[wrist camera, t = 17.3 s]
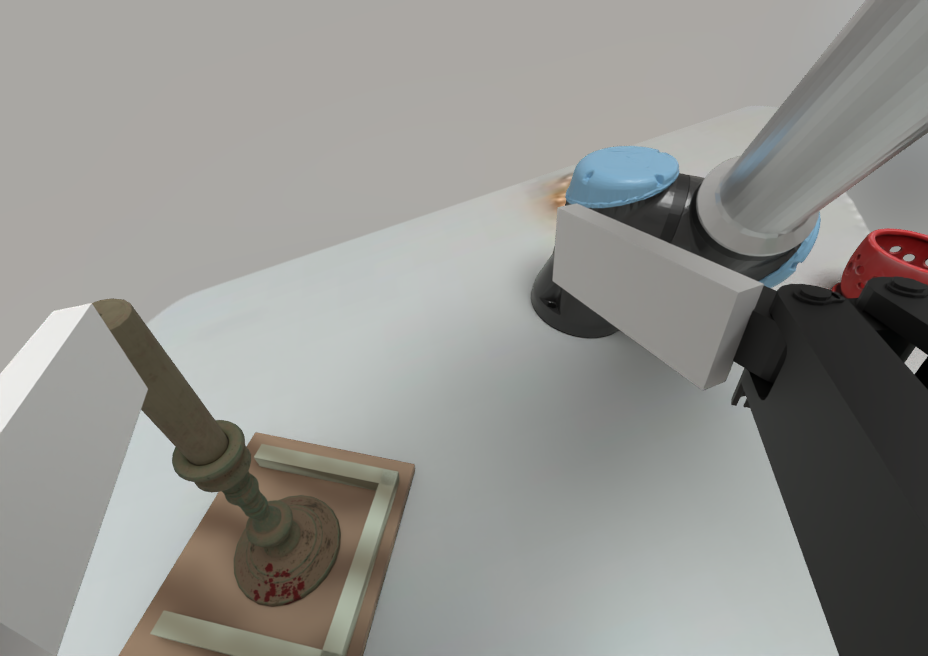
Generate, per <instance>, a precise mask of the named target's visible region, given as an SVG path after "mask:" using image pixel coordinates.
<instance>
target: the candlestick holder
mask: <svg viewBox="0 0 928 656" xmlns="http://www.w3.org/2000/svg"><path fill="white" fill-rule="evenodd" d="M92 304H93V306H94V307H95V309H96V310H97V312H98V313H99V315H100V316H101V318H102V319H103V321H104V323H105V324H106V326H107V327H108V329H109V330H110V332H111V333H112V335H113V336H114V338H115V339H116V341H117V342H118V344H119V345H120V347H121V348H122V350H123V351H124V353H125V354H126V356H127V358H128V359H129V361H130V362H131V364H132V365H133V367H134V368H135V370H136V371H137V373H138V374H139V376H140V377H141V379H142V380H143V382H144V383H145V385H146V386H147V388H148V390H147V393H146V396H145V399H144V402H143V405H142V408H141V410H142V411H143V412H144V413H145V414H146V415H147V416H148V417H149V418H150V419H151V420H152V422H153V423H154V424H155V425H156V426H157V427H158V428H159V429H160V430H161V431H162V432H163V433H164V434H165V436H166V437H167V438H168V439H169V440H170V441H171V442H172V443H173V444H174V445H175V446H176V447H175V450H174V452H173V458H172V463H173V467H174V470H175V472H176V473H177V474H178V475H179V476H180V477H181V478H183V479H185V480H188V481H192V482H195V484H196V485H197V486H198V488H199V489H201V490H203V491H207V492H220V491H222V492H223V493H224V495H225V498H226V500H227V501H228V502H229V503H231V504H233V505H237V506H239V507H240V508H241V509H242V510H243V512H244V513H245V515H246V516H248V517H249V518H248V521H247V524H246V528H245V529H244V531H243V533H242V535H241V537H240V539H239V541H238V543H237V546H236V551H235V555H234V575H235V578H236V581H237V584H238V587H239V588H240V589H241V591H242V592H243V593H244V594H245V596H246V597H247V598H248V599H250V600H252V601H254V602H255V603H257V604H260V605H265V606H271V607H274V606H281V605H288V604H290V603H292V602H295V601H297V600H300V599H302V598H304V597H305V596H306V595H308V594H309V593H310V592H312V591H313V590H315V589H316V588H317V587H318V586H319V585H320V583H321V582H322V581H323V580H324V579H325V578H326V577H327V575H328V574H329V572H330V570H331V568H332V567H333V565H334V563H335V561H336V558H337V555H338V552H339V549H340V539H341V531H340V526H339V521H338V519H337V517H336V515H335V513H334V511H333V510H332V509H331V508H330V507H329V506H328V505H327V504H326V503H325V502H323V501H321V500H319V499H317V498H315V497H311V496H304V495H298V496H289V497H286V498H283V499H280V500H278V501H277V500H274V501H267V499H266V497H265V496H263V494H262V493H261V492H260V490H259V483H258V480H257V478H256V477H255V476H253V475H252V474H250V473H249V471H248V470H249V468H250V464H251V453H250V451H249V449H248V448H247V447H246V446H245V438H244V434H243V432H242V430H241V429H240V428H239V427H238V426H237V425H236V424H233V423H231V422H229V421H224V420H216V421H215V420H214V418H213V417H212V415H211V414H210V413H209V411H208V410H207V408H206V407H205V406H204V404H203V403H202V402H201V400H200V399H199V397H198V396H197V395H196V393H195V392H194V391H193V389H192V388H191V386H190V385H189V384H188V382H187V381H186V380H185V378H184V377H183V375H182V374H181V373H180V371H179V370H178V368H177V367H176V366H175V364H174V363H173V362H172V360H171V359H170V357H169V356H168V355H167V353H166V352H165V351H164V349H163V348H162V346H161V345H160V344H159V342H158V341H157V340H156V338H155V337H154V335H153V334H152V333H151V331H150V330H149V328H148V327H147V326H146V324H145V323H144V322H143V320H142V319H141V317H140V316H139V315H138V313H137V312H136V311H135V309H134V308H133V306H132V305H131V304H130V303H129V302H127V301H125V300H121V299H105V300H100V301H97V302H94V303H92Z"/></svg>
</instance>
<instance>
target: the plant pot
mask: <svg viewBox="0 0 928 656" xmlns="http://www.w3.org/2000/svg"><path fill="white" fill-rule="evenodd" d="M894 246H899V247H901V249H900V250H899V251H898V252H894V253H893V252H890V249H891V248H892V247H894ZM907 254H913V255H914V256H915V259H914V260H913V261H910V262H908V261H904V260H903V257H904V256H905V255H907ZM927 259H928V236H927V235H924V234H920V233H917V232H912V231H908V230H901V229H878V230H875V231H873V232H871V233H870V234H868V235H867V237H866V238H865V239H864V240H863V241H862V242H861V244H860V245H859V246H858V248H857V249H856V251H855V252H854V253H853V255H852V256H851V258H850V260H849V262H848V263H847V265H846V267H845V269H844V272H843V275H842V279H841V282H840V283H837V284H836V285H834V286H833V288H832V290H831V291H833V292H837V293H839V294H841V295H842V296H843V297H844V298H846V299H848V298H858V297H859V295H860V294H861V292H862V290H863V288H864V286H865V285H866V283H867V281H868V280H870V279H872V278H875V277H894V276H898V277H904V278H911V279H914V280H916V281H919V282H921V283H924V284H927V285H928V266H927V265H926V264H925V261H926V260H927Z"/></svg>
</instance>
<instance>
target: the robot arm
mask: <svg viewBox="0 0 928 656" xmlns="http://www.w3.org/2000/svg"><path fill="white" fill-rule="evenodd" d="M927 133H928V0H865V2H864V3H863V4H862V5H861V7H860V8H859V9H858V10H857V12H856V13H855V14H854V15H853V17H852V18H851V19H850V20H849V22H848V23H847V24H846V25H845V27H844V28H843V29H842V30H841V32H840V33H839V34H838V35H837V37H836V38H835V39H834V40H833V42H832V43H831V44H830V45H829V47H828V48H827V49H826V50H825V52H824V53H823V54H822V55H821V57H820V58H819V59H818V60H817V62H816V63H815V64H814V65H813V66H812V68H811V69H810V70H809V72H808V73H807V74H806V75H805V77H804V78H803V79H802V80H801V82H800V83H799V84H798V85H797V86H796V88H795V89H794V90H793V91H792V93H791V94H790V95H789V97H788V98H787V99H786V100H785V101H784V103H783V104H782V105H781V106H780V108H779V109H778V110H777V111H776V113H775V114H774V115H773V116H772V118H771V119H770V120H769V121H768V123H767V124H766V125H765V126H764V128H763V129H762V130H761V131H760V133H759V134H758V135H757V136H756V138H755V139H754V140H753V141H752V143H751V144H750V145H749V146H748V148H747V149H746V150H745V151H744V153H743V154H742V155H741V156H737V157H734V158H731V159H728V160H726V161H724V162H722V163H721V164H719V165H718V166H716V167H715V168H714V169H712V170H711V171H710V172H709V174H708V175H707V176H706V177H705V178H702V177H697V176H691V175H685V174H680V173H679V164H678V162H677V160H676V159H675V158H674V157H673V156H671V155H669V154H667V153H660V152H659V150H656V149H652V148H646V147H638V146H619V147H610V148H605V149H602V150H598V151H595V152H592V153H590V154H588V155H587V156H585V157H584V158H583V159H582V160H581V161H580V162H579V163H578V164H577V166H576V168H575V170H574V173H573V177H572V180H571V183H570V186H569V188H568V189H567V191H566V197H565V198H566V204H565V206H562V207H558V210H557V224H556V238H555V247H554V251H553V254H552V255H551V257H550V258H549V260H548V261H547V263H546V264H545V265H544V267H543V268H542V270H541V271H540V273H539V274H538V276H537V277H536V279H535V282H534V285H533V289H532V294H531V300H532V304H533V307H534V309H535V311H536V312H537V313H538V315H539V316H540V317H541V318H542V319H543V320H544V321H545V322H547V323H548V324H549V325H551V326H552V327H554V328H556V329H558V330H560V331H562V332H565V333H568V334H571V335H575V336H580V337H602V336H607V335H610V334H612V333H614V332H616V331H618V330H620V331H622V332H623V333H625V334H626V335H627V336H629V337H630V338H631V339H633V340H634V341H636V342H637V343H638V344H640V345H641V346H642V347H644V348H645V349H646V350H648V351H649V352H651V353H652V354H653V355H655V356H656V357H657V358H659V359H660V360H662V361H663V362H664V363H666V364H667V365H668V366H670V367H671V368H673V369H674V370H675V371H677V372H678V373H679V374H681V375H682V376H683V377H685V378H686V379H688V380H689V381H690V382H692V383H693V384H694V385H696V386H697V387H699V388H700V389H701V390H706V389H708V388H710V387H713V386H715V385H718V384H720V383H723V382H725V381H726V379H727V376H728V374H729V371H730V369H731V366H732V364H733V361H734V362H736V363H738V364H739V365H741V366H742V367H744V371H743V373H742V375H741V378H740V380H739V382H738V385H737V387H736V390H735V392H734V394H733V397H732V402H731V405H735V406H737V403H738V401H739V399H740V397H742V396H746V397H747V399H746V401H745V404H744V407H748V408H751V411H752V414H753V417H754V420H755V422H756V425H757V428H758V431H759V433H760V436H761V439H762V442H763V445H764V447H765V450H766V453H767V456H768V459H769V461H770V464H771V467H772V470H773V472H774V475H775V478H776V481H777V484H778V486H779V489H780V492H781V495H782V498H783V500H784V503H785V506H786V509H787V511H788V514H789V517H790V520H791V523H792V525H793V528H794V531H795V534H796V536H797V539H798V542H799V545H800V548H801V550H802V553H803V556H804V559H805V562H806V564H807V567H808V570H809V573H810V575H811V578H812V581H813V584H814V587H815V589H816V592H817V595H818V598H819V601H820V603H821V606H822V609H823V612H824V614H825V617H826V620H827V623H828V626H829V628H830V631H831V634H832V637H833V640H834V642H835V645H836V648H837V651H838V653H839V656H928V357H927V358H926V360H925V361H924V362H923V364H922V365H921V366H920V368H919V369H918V370H917V372H916V373H915V375H914V374H913V373H912V371H911V370H910V369H909V368H908V367H907V366H906V365H905V364H904V363H905V361H906V360H907V358H908V357H909V355H910V354H911V353H912V351H913V350H914V348H915V347H917V348H919V349H920V350H922V351H923V352H924V353H926V354H927V355H928V285H927V284H924V283H921V282H919V281H916V280H914V279H911V278H904V277H898V276H894V277H875V278H872V279H870V280H868V281H867V283H866V285H865V286H864V288H863V290H862V292H861V294H860V295H859V297H858V298H848V299H846V298H844V297H843V296H842V295H841V294H839V293H837V292H833V291H831V290H828V289H825V288H821V287H818V286H812V285H805V284H789V285H785V286H782V287H780V288H779V289H778V290H777V291H775V290H773V289H771V288H772V287H774V286H776V285H778V284H780V283H781V282H783V281H784V280H786V279H787V278H788V277H789V276H790V275H791V274H793V273H794V272H795V271H796V266H797V264H798V263H799V262H801V263H802V262H803V261H804V260H805V259H806V257H807V256H808V254H809V253H810V251H811V249H812V247H813V245H814V243H815V241H816V239H817V236H818V232H819V228H820V220H821V219H820V212H819V211H820V210H821V209H822V208H824V207H825V206H826V205H828V204H829V203H831V202H832V201H833V200H835V199H836V198H837V197H839V196H840V195H842V194H843V193H844V192H846V191H847V190H849V189H850V188H851V187H853V186H854V185H856V184H857V183H858V182H860V181H861V180H863V179H864V178H865V177H867V176H868V175H869V174H871V173H872V172H874V171H875V170H876V169H878V168H879V167H881V166H882V165H883V164H885V163H886V162H888V161H889V160H890V159H892V158H893V157H894V156H896V155H897V154H899V153H900V152H901V151H903V150H904V149H906V148H907V147H908V146H910V145H911V144H913V143H914V142H915V141H917V140H918V139H920V138H921V137H922V136H924V135H925V134H927ZM147 390H148V388H147V386H146V385H145V383H144V382H143V380H142V379H141V377H140V376H139V374H138V373H137V371H136V370H135V368H134V367H133V365H132V364H131V362H130V361H129V359H128V358H127V356H126V354H125V353H124V351H123V350H122V348H121V347H120V345H119V344H118V342H117V341H116V339H115V338H114V336H113V335H112V333H111V332H110V330H109V329H108V327H107V326H106V324H105V323H104V321H103V319H102V318H101V316H100V315H99V313H98V312H97V310H96V309H95V307H94V306H93V304H92V303H90V304H86V305H81V306H77V307H71V308H67V309H61V310H56V311H53V312H52V313H51V314H50V315H49V317H48V318H47V319H46V320H45V321H44V323H43V324H42V325H41V326H40V327H39V328H38V330H37V331H36V332H35V333H34V334H33V336H32V337H31V338H30V339H29V340H28V342H27V343H26V344H25V345H24V347H23V348H22V349H21V350H20V351H19V352H18V354H17V355H16V356H15V357H14V358H13V359H12V361H11V362H10V363H9V364H8V366H7V367H6V368H5V369H4V370H3V372H2V373H1V374H0V656H57V653H58V650H59V647H60V644H61V641H62V639H63V636H64V633H65V630H66V627H67V624H68V621H69V618H70V615H71V612H72V609H73V606H74V603H75V601H76V598H77V595H78V592H79V589H80V586H81V583H82V580H83V577H84V574H85V571H86V568H87V566H88V563H89V560H90V557H91V554H92V551H93V548H94V545H95V542H96V539H97V536H98V533H99V531H100V528H101V525H102V522H103V519H104V516H105V513H106V510H107V507H108V504H109V501H110V498H111V495H112V493H113V490H114V487H115V484H116V481H117V478H118V475H119V472H120V469H121V466H122V463H123V460H124V458H125V455H126V452H127V449H128V446H129V443H130V440H131V437H132V434H133V431H134V428H135V425H136V422H137V420H138V417H139V414H140V411H141V408H142V405H143V402H144V399H145V396H146V393H147Z"/></svg>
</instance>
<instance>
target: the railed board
mask: <svg viewBox="0 0 928 656" xmlns="http://www.w3.org/2000/svg"><path fill="white" fill-rule="evenodd" d="M247 448H248V449H249V451H250V453H251V464H250V468H249V470H248V471H249V473H250V474H252V475H253V476H255V477H256V478H257V480H258V483H259V490H260V492H261V493H262V494H263V496H265V497H266V499H267V501H274V500H277V501H278V500H280V499H283V498H286V497H289V496H298V495H304V496H311V497H315V498H317V499H319V500H321V501H323V502H325V503H326V504H327V505H328V506H329V507H330V508H331V509H332V510H333V511H334V513H335V515H336V517H337V519H338V521H339V526H340V531H341V539H340V549H339V552H338V555H337V558H336V561H335V563H334V565H333V567H332V568H331V570H330V572H329V574H328V575H327V577H326V578H325V579H324V580H323V581H322V582H321V583H320V585H319V586H318V587H317V588H316V589H315V590H313V591H312V592H310V593H309V594H308V595H306V596H305V597H304V598H302V599H300V600H297V601H295V602H292V603H290V604H288V605H281V606H274V607H271V606H265V605H260V604H257V603H255V602H254V601H252V600H250V599H248V598H247V597H246V596H245V594H244V593H243V592H242V591H241V589H240V588H239V587H238V584H237V581H236V578H235V575H234V555H235V551H236V546H237V543H238V541H239V539H240V537H241V535H242V533H243V531H244V529H245V528H246V524H247V521H248V518H249V517H248V516H246V515H245V513H244V512H243V510H242V509H241V508H240V507H239V506H237V505H233V504H231V503H229V502H228V501H227V500H226V498H225V495H224V493H223V492H222V491H220V492H219V493H218V494H217V496H216V498H215V499H214V501H213V502H212V504H211V506H210V507H209V509H208V511H207V512H206V514H205V516H204V517H203V519H202V520H201V522H200V524H199V525H198V527H197V529H196V530H195V532H194V533H193V535H192V537H191V538H190V540H189V542H188V543H187V545H186V546H185V548H184V550H183V551H182V553H181V555H180V556H179V558H178V560H177V561H176V563H175V564H174V566H173V568H172V569H171V571H170V573H169V574H168V576H167V577H166V579H165V581H164V582H163V584H162V586H161V587H160V589H159V591H158V592H157V594H156V595H155V597H154V599H153V600H152V602H151V604H150V605H149V607H148V608H147V610H146V612H145V613H144V615H143V617H142V618H141V620H140V622H139V623H138V625H137V626H136V628H135V630H134V631H133V633H132V635H131V636H130V638H129V639H128V641H127V643H126V644H125V646H124V648H123V649H122V651H121V653H120V654H119V656H363V653H364V649H365V646H366V642H367V638H368V635H369V631H370V628H371V624H372V621H373V617H374V614H375V610H376V607H377V603H378V600H379V596H380V592H381V589H382V585H383V582H384V578H385V575H386V571H387V568H388V564H389V561H390V557H391V554H392V550H393V546H394V543H395V539H396V536H397V532H398V529H399V525H400V522H401V518H402V515H403V511H404V508H405V504H406V500H407V497H408V493H409V490H410V486H411V483H412V479H413V476H414V472H415V465H414V464H411V463H406V462H401V461H396V460H391V459H386V458H381V457H376V456H371V455H366V454H361V453H356V452H351V451H346V450H341V449H336V448H331V447H326V446H321V445H316V444H311V443H306V442H301V441H296V440H291V439H286V438H281V437H276V436H271V435H267V434H262V433H257V432H255V434H254V436H253V437H252V439H251V440H250V442H249V444H248V445H247Z"/></svg>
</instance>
